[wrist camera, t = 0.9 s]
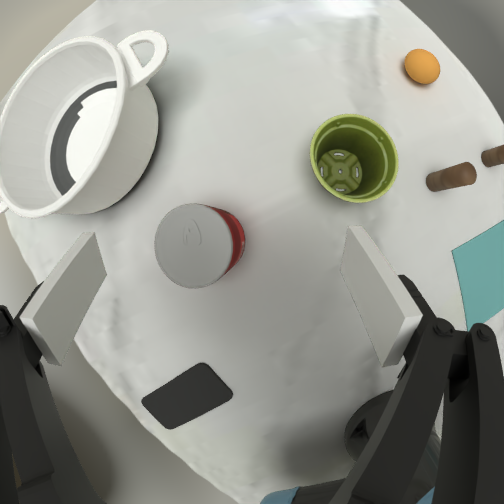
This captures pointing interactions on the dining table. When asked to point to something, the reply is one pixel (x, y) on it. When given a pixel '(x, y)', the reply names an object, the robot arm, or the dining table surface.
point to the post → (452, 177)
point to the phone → (187, 396)
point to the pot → (79, 127)
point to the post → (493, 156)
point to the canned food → (198, 244)
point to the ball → (422, 66)
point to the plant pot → (354, 158)
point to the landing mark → (481, 274)
